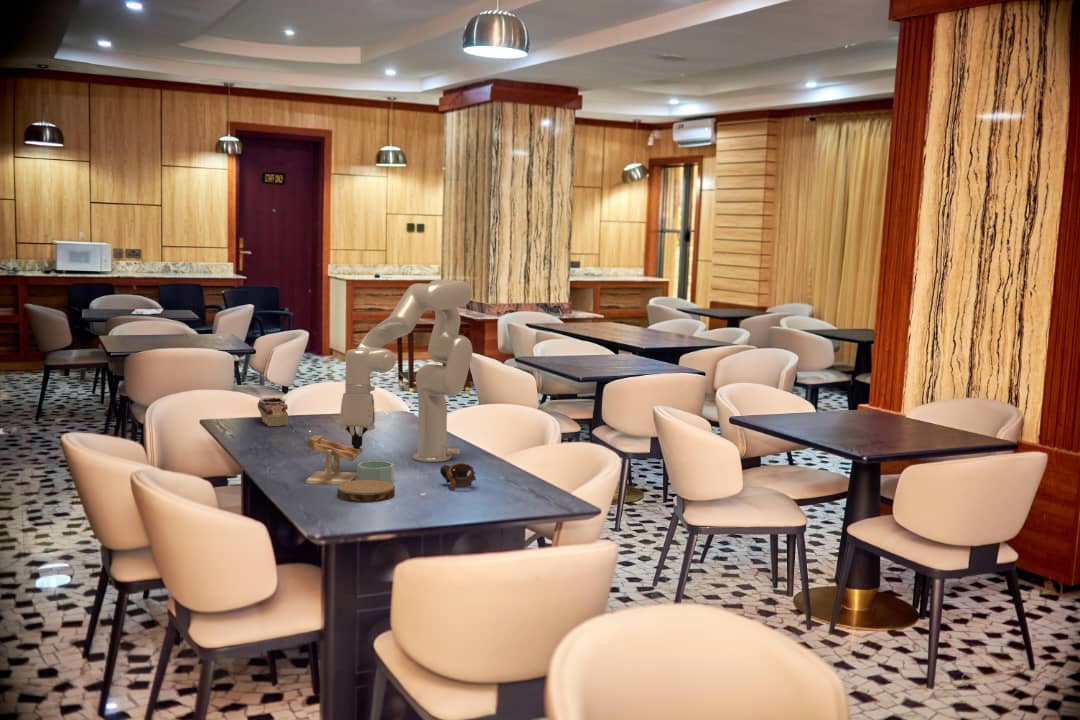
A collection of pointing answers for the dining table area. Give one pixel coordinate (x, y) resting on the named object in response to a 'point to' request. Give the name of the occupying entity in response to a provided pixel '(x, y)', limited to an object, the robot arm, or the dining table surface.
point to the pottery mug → (458, 474)
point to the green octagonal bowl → (376, 471)
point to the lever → (333, 448)
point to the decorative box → (273, 411)
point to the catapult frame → (330, 476)
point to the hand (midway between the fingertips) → (356, 448)
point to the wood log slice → (366, 491)
